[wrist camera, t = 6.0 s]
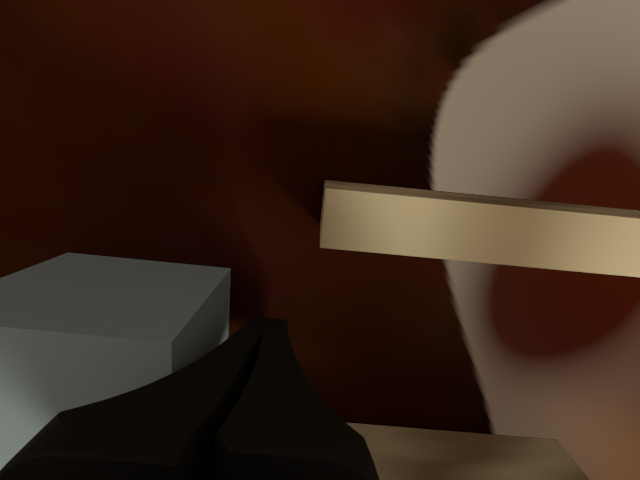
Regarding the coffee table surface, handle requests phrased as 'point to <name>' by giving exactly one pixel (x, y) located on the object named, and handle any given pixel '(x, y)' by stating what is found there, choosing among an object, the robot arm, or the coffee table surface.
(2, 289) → the block
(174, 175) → the coffee table surface
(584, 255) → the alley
